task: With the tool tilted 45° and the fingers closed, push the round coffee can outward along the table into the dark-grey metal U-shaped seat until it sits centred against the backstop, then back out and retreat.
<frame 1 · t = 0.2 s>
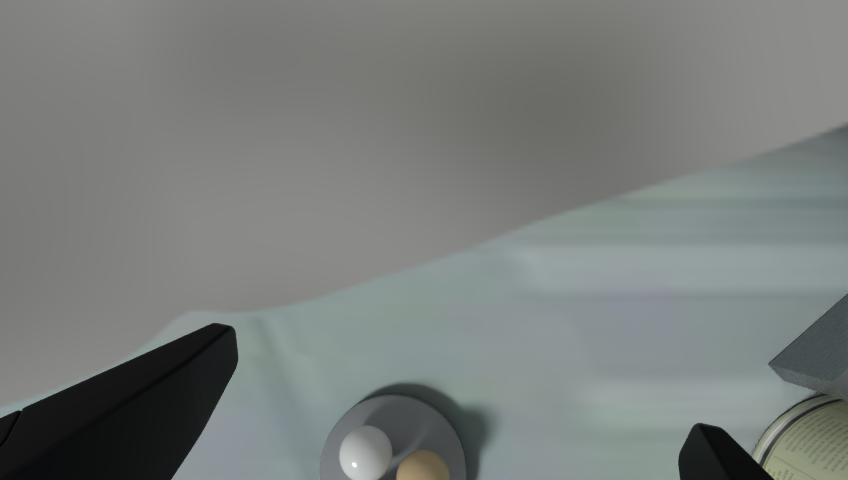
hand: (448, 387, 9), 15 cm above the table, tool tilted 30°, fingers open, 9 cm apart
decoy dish: (394, 466, 24), on the table
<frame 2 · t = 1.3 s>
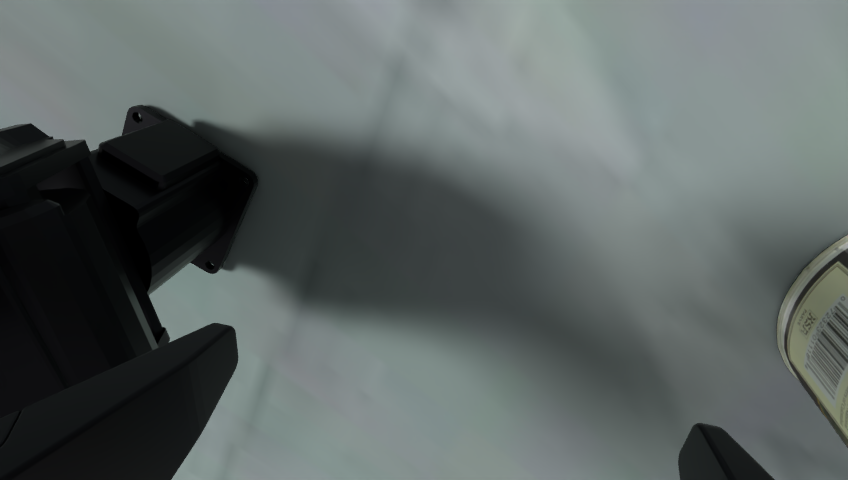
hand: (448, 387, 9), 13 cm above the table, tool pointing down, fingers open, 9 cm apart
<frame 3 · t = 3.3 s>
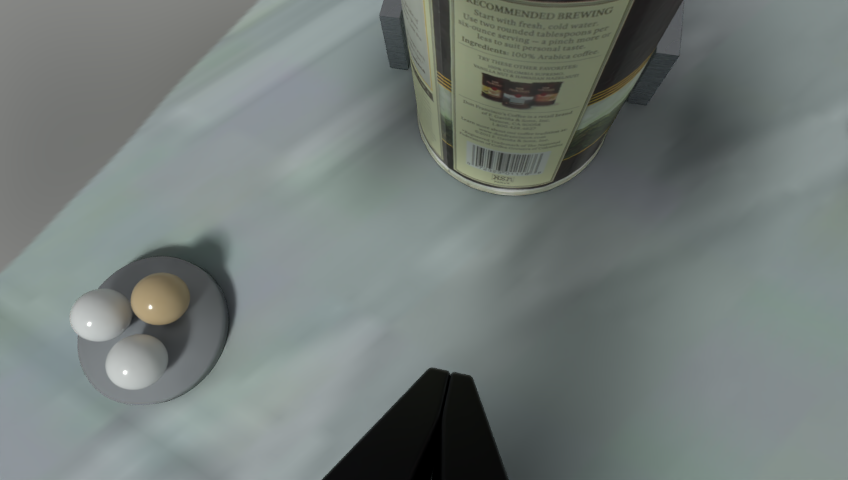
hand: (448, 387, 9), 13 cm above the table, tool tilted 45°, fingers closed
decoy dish: (159, 329, 24), on the table
coffee can: (509, 110, 26), on the table
seat: (525, 25, 28), on the table
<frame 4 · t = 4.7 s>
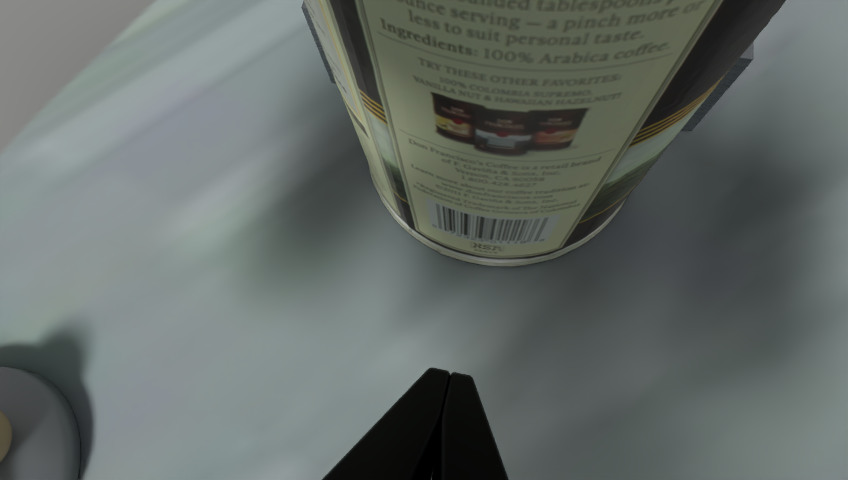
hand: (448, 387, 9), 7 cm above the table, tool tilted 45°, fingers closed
coffee can: (497, 140, 19), on the table
seat: (517, 22, 20), on the table
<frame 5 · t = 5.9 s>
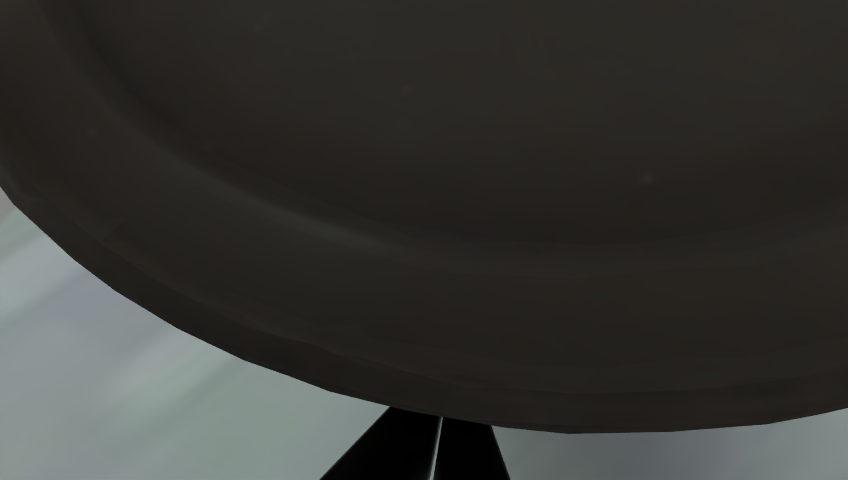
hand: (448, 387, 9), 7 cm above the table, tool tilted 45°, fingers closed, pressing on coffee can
coffee can: (474, 264, 17), on the table, touching gripper
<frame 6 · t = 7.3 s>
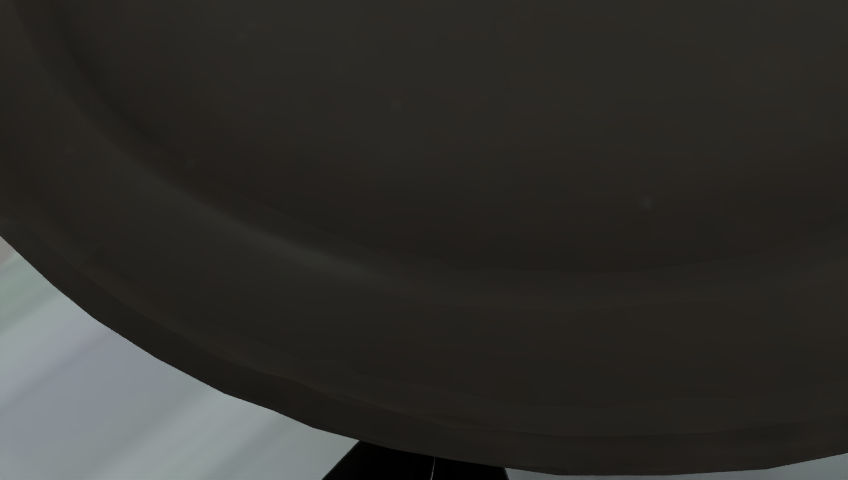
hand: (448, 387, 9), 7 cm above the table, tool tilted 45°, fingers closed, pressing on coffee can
coffee can: (476, 255, 17), on the table, touching gripper
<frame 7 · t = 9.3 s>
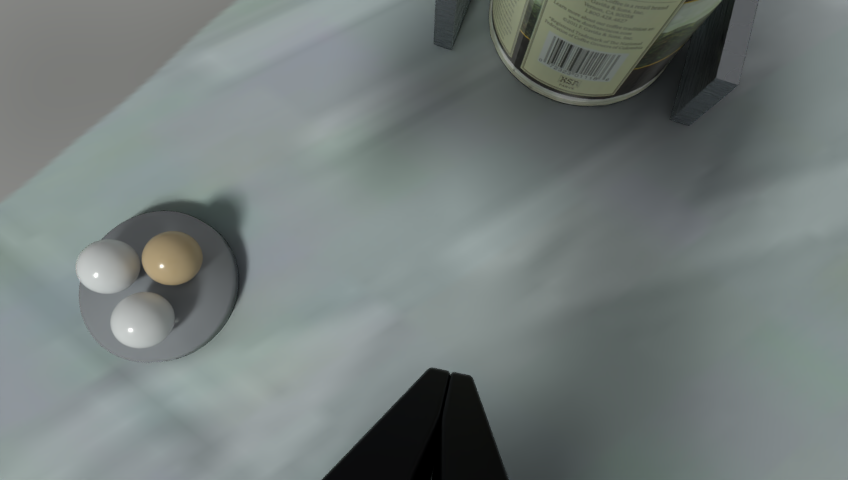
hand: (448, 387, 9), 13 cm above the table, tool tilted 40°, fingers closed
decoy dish: (164, 286, 23), on the table
coffee can: (579, 23, 27), on the table
seat: (579, 21, 26), on the table
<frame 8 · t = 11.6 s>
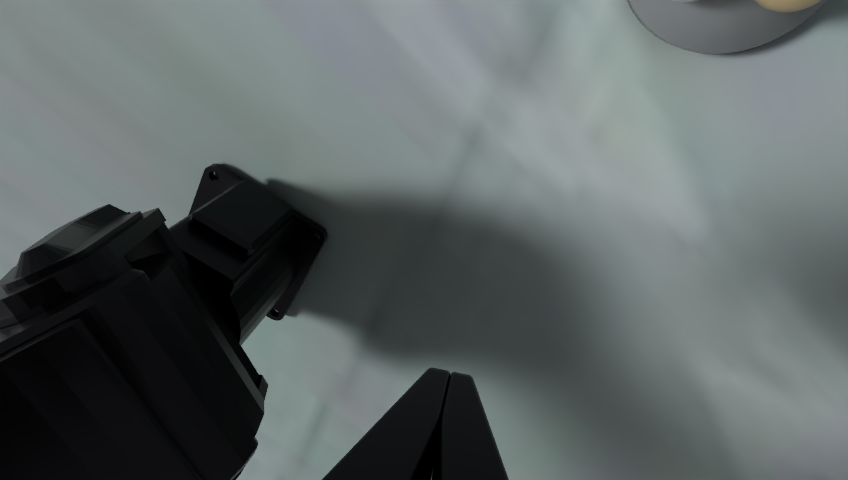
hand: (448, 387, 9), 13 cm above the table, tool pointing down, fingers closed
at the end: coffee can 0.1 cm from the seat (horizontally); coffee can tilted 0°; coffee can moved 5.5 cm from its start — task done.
